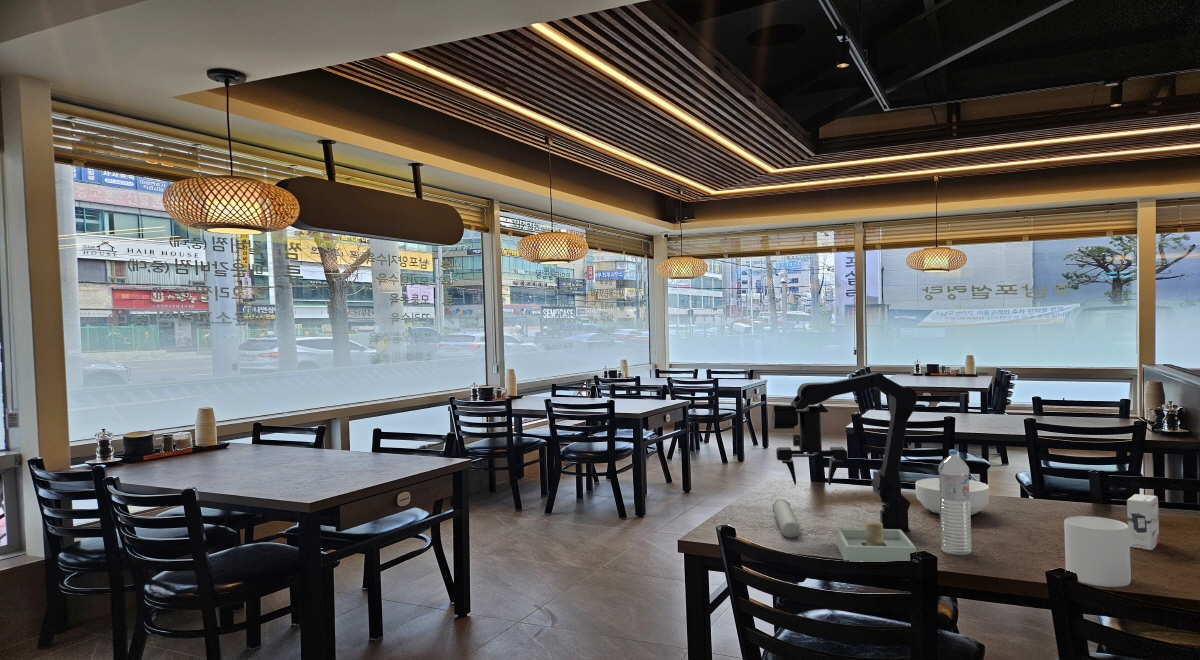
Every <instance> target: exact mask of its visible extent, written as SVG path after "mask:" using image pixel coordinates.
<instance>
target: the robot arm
mask: <svg viewBox="0 0 1200 660" xmlns="http://www.w3.org/2000/svg"><path fill="white" fill-rule="evenodd" d="M873 388H875V389H876V390H878V391H879V392H881V393H882V394H884V395H885V396H887V397H888V409H889V416H890V418H889V423H888V431H887V437H886V442H885V448H884V454H883V460H882V465H881V467H880V469H879V471H878V472H877V471H874V470H873V471H872V472H873V473H872V482H871V483H870V486H871V487H872V492H873V494H874V495H875V496H876V497H877V498H879V500H880V502H881V503H882V505H881V510H879V522H880V523H882V524H883V529H899V530H902V532H903V533H904V532H911V528H910V527H909V509H910V506H911V502H910V501H909V500H908V499H907V498H906V497H905V496H904V495H903V494H902V481H901V475H900V467H901V462H902V456H903V455H902V453H903V448H904V445H905V444H904V443H905V438H906V433H907V426H908V421H909V419H910V417H911V416H912V414H913V412H914V410H915V407H916V405H917V401H918V394H917V392H916V391H915V390H914V389H913V388H912V387H909V386H905V385H900V384H898V383H897V382H895V381H893V380H891V379H890V378H888V377H886V376H885V375H884V374H882V373H880V372H877V371H876V372H875V371H874V372H873V371H872V372H870V373H867V374H862V375H857V376H854V377H848V378H845V379H843V378H842V379H840V380H839V379H838V380H835V381H829V382H826V381H825V382H805V383H802V384H800V385H799V387H798V389H797V390H796V394H797V395H796V396H795V397H794V399H793V400H792V402H791V403H790V404H784V405H783V404H772V414H771V425H772V430H794V429H795V427H797V426H798V425H799V434H792V445H793V447H799V448H798V449H797V450H796V449H795V450H792V448H791V447H788V446H784V447H782V446H780V447H779V446H778V447H777V448H776V450H775V454H776V455H775V456H776V459H777V461H781V463H782V464H785V465H786V466H787V468H788V470H789V472H790V475H791V478H792V482H793V484H794V485H795V486H796V485H797V477H796V471H795V465H794V460H793V458H829V459H828V460H829V461H828V463H829V467H828V474H827V475H828V478H827V481H828V486H831V484H832V481H833V479H834V476H835V473H836V471H837V469H838V466H839V465H840V464H843V463H844V461H848V460H849V454H848V451H847V449H845V448H844V446H830V447H829V448H830V449H828V450H827V449H825V450H824V449H822V447H823V446H822V445H823V444H822V443H823V442H822V418H821V417H822V413H828V412H829V410H828V409H827V408H826V407H825V406H824V405H823V402H825V401H827V400H829V399H831V398H834V397H836V396H840V395H845V394H849V393H854V392H859V391H860V392H861V391H864V390H869V389H873Z"/></svg>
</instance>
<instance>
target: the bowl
mask: <svg viewBox="0 0 1200 660" xmlns="http://www.w3.org/2000/svg"><path fill="white" fill-rule="evenodd" d="M915 494H916V495H915V496H916V499H917V500H918V501H919V502H920V504H921V505H922V506H923V507H924V508H926V509H928V510H929V512H933V513H935V514H938V515H940V504H939V502H940V501H939V498H940V486H939V477H930V478H928V477H927V478H922V479H918V480H917V481H915ZM969 499H970V516H973V515H975V514H977V513H979V512H980V511H982V510H984V508H985V507H986V506H987V505H988V504H989V502H990V500H989V499H990V486H989V485H988V484H987V483H984V482H981V481H978V480H972V479H969Z"/></svg>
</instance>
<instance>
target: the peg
mask: <svg viewBox="0 0 1200 660" xmlns="http://www.w3.org/2000/svg"><path fill="white" fill-rule="evenodd" d="M864 523H865V524H864V526H865V528H864V529H865V530H866V546H883V524H882V523H880V521H876V520H875V521H874V520H873V521H871V520H869V521H866V522H864Z"/></svg>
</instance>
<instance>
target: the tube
mask: <svg viewBox="0 0 1200 660" xmlns="http://www.w3.org/2000/svg"><path fill="white" fill-rule="evenodd" d="M772 513H773V514H774V516H775V518H776V522H777V524H778V526H779V529H780V532H781V534H782V535H783V536H785V538H789V539H794V538H797V537H798V535H799V534H800V533H801V532H800V524H799V522H798V520H797V517H796V516H795V513H794V511H793V509H792V507H791V503H790V502H788V501H787V500H786V499H784V498H783V499H781V498H778V499H776V500H775V501H774V502H773V504H772Z"/></svg>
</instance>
